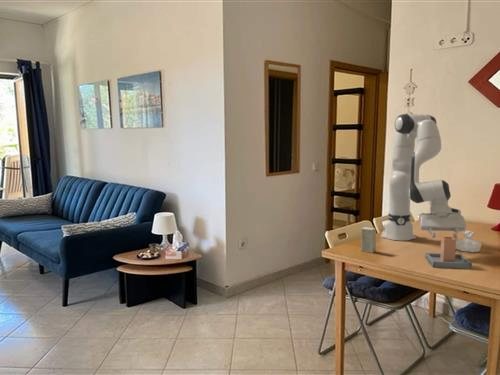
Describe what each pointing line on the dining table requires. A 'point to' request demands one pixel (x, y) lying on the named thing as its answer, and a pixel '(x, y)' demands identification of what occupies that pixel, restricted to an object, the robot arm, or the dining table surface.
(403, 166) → the robot arm
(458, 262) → the tray
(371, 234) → the skincare box
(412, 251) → the dining table surface
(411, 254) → the dining table surface
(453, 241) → the cup
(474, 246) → the bust
